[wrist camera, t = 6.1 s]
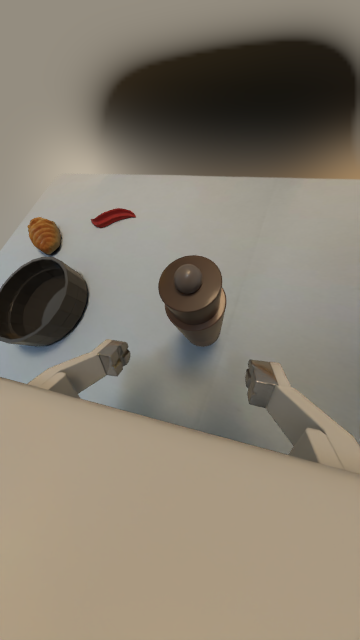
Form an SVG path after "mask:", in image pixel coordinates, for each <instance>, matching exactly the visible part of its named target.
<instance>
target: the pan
mask: <svg viewBox="0 0 360 640" xmlns="http://www.w3.org/2000/svg"><path fill="white" fill-rule="evenodd" d="M86 300H87V287H86V282H85V280H84V279H83V277H82V276H81V275H80V274H79V273H78V272H76V271H75V270H73V269H72V268H70V267H69V266H68V265H66V264H65V263H63V262H62V261H60V260H58V259H56V258H54V257H41V258H37V259H34V260H32V261H30V262H28V263H26V264H24V265H22V266H21V267H20V268H19V269H18V270H16V271H15V272H14V273H13V274H12V275H11V276H10V277H9V278H8V279H7V280H6V282H5V283H4V284H3V285H2V287H1V288H0V341H3V342H6V343H10V344H19V345H28V346H44V345H49V344H51V343H53V342H55V341H57V340H59V339H61V338H62V337H63V336H64V335H66V334H67V333H68V332H69V331H70V330H71V329H72V328H73V327H74V325H75V324H76V323H77V321H78V320H79V318H80V317H81V315H82V312H83V310H84V307H85V305H86Z"/></svg>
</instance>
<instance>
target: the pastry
mask: <svg viewBox="0 0 360 640" xmlns="http://www.w3.org/2000/svg"><path fill="white" fill-rule="evenodd" d="M28 228H29V229H28V231H29V237H30V239H31V241H32V243H33V244H34V246H35V247H37V248H38V249H40V250H41V251H42V252H44V253H46V254H49V255H50V254H51V253H52V252H53V251H55V250H56V249H57V248H58V247H59V246H60V244H61V243H60V240H61V234H60V232H59V229H58V228H57V226H56V224H55V222H53V221H50V220H47V219H43V218H41V217H38V218H34V219H32V220H31V221H30V225H28Z"/></svg>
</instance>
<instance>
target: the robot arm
mask: <svg viewBox="0 0 360 640" xmlns="http://www.w3.org/2000/svg"><path fill="white" fill-rule="evenodd" d="M127 348H128V344H127V343H126V342H122V341H116V340H109V339H108V340H105V341H104V342H103V343H102V344H100V345H99V346H98V347H97V348H96V349H94V350H93V351H92V352H91V353H86V354H84V355H81V356H79V357H76V358H74V359H71V360H69V361H66V362H64V363H61V364H59V365H56V366H53V367H51V368H48V369H47V370H46V371H44V372H43V373H41V374H40V375H39V376H37V377H36V378H35V379H33V380H32V381H30V382H29V383H28V384H24V383H21V382H17V381H13V380H9V379H6V378H2V377H0V640H360V446H359V444H358V443H357V441H356V440H355V438H354V437H353V436H352V435H351V434H349V433H348V432H347V431H346V430H345V429H343V428H342V427H341V426H340V425H339V424H337V423H336V422H335V421H334V420H333V419H331V418H330V417H329V416H328V415H326V414H325V413H324V412H323V411H322V410H320V409H319V408H318V407H317V406H316V405H314V404H313V403H312V402H311V401H310V400H308V399H307V398H306V397H305V396H304V395H302V394H301V393H300V392H299V391H297V390H296V389H295V388H291V385H290V383H289V381H288V379H287V377H286V375H285V373H284V371H283V369H282V366H281V364H280V363H275V362H266V361H258V360H251V359H250V360H249V362H248V368H249V369H247V370H246V376H245V382H246V387H247V388H248V392H247V395H248V401H249V404H251V405H255V406H259V407H263V408H266V409H267V411H268V412H269V414H270V415H271V416H272V418H273V419H274V420H275V422H276V423H277V424H278V426H279V427H280V428H281V430H282V431H283V432H284V434H285V435H286V436H287V438H288V439H289V440H290V442H291V443H292V444H293V446H294V447H293V448H292V450H291V451H290V453H289V454H288V455H286V454H283V453H279V452H275V451H272V450H268V449H264V448H261V447H257V446H253V445H250V444H246V443H242V442H238V441H235V440H231V439H227V438H224V437H220V436H216V435H213V434H209V433H205V432H201V431H198V430H194V429H190V428H187V427H183V426H179V425H176V424H172V423H168V422H165V421H161V420H157V419H153V418H150V417H146V416H142V415H139V414H135V413H131V412H127V411H124V410H120V409H116V408H113V407H109V406H105V405H102V404H98V403H94V402H90V401H87V400H83V399H80V397H79V395H78V393H80V392H81V391H83V390H84V389H86V388H88V387H89V386H91V385H92V384H94V383H95V382H97V381H98V380H100V379H102V378H103V377H105V376H106V375H111V376H118V375H119V374H120V372H121V371H122V370H123V366H125V365H127V363H128V362H129V360H130V351H129V350H128V349H127Z"/></svg>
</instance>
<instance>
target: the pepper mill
mask: <svg viewBox="0 0 360 640" xmlns="http://www.w3.org/2000/svg"><path fill="white" fill-rule="evenodd" d="M158 288H159V294H160V297H161V299H162V301H163V302H164V303H165V310H166V313H167V316H168V318H169V319H170V321H171V322H172V323H173V324H174V325H175V326H176V327H177V328H178V329H179V330H180V332H181V333H182V334H183V335H184V336H185V337H186V338H187V339H188V340H189V341H190V342H191V343H192V344H194V345H196V346H201V347H204V346H209V345H211V344H213V343H214V342H215V341H216V340H217V339H218V337H219V334H220V330H221V326H222V321H223V317H224V312H225V308H226V295H225V292H224V290H223V288H222V276H221V272H220V270H219V268H218V267H217V266H216V264H215V263H214V262H212V261H211V260H209V259H207V258H205V257H202V256H195V255H193V256H185V257H182V258H179V259H177V260H175V261H174V262H172V263H171V264H169V265H168V266H167V267H166V269H165V270H164V271H163V273H162V275H161V277H160V280H159V287H158Z"/></svg>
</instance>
